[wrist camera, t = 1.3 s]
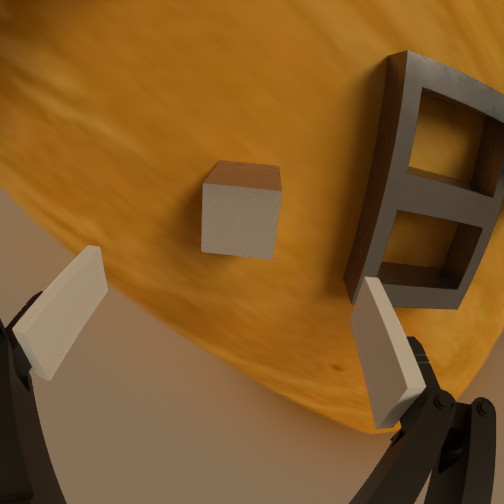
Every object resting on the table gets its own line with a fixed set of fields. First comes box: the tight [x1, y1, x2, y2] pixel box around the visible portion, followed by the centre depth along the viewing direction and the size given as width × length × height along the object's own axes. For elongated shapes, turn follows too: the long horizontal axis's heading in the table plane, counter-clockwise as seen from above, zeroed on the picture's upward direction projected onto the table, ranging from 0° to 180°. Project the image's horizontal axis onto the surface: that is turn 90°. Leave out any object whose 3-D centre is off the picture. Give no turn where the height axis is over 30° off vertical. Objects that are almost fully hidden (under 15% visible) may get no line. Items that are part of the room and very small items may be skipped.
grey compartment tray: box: [343, 50, 504, 310], centre depth 23 cm, size 22×13×4 cm, turn 174°
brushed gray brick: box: [201, 160, 282, 260], centre depth 23 cm, size 5×5×7 cm
